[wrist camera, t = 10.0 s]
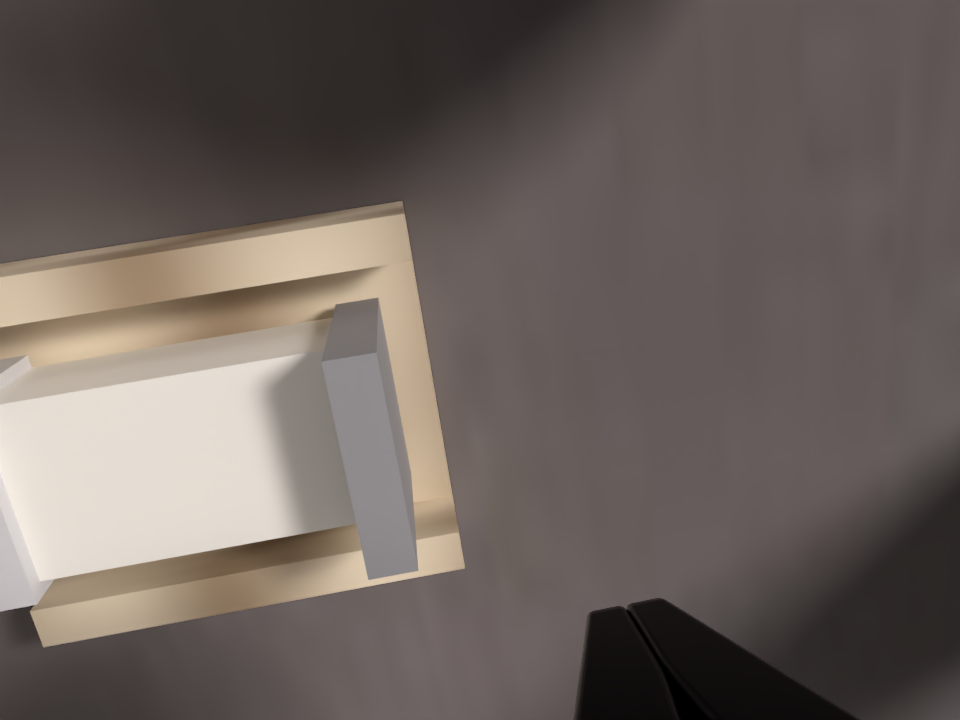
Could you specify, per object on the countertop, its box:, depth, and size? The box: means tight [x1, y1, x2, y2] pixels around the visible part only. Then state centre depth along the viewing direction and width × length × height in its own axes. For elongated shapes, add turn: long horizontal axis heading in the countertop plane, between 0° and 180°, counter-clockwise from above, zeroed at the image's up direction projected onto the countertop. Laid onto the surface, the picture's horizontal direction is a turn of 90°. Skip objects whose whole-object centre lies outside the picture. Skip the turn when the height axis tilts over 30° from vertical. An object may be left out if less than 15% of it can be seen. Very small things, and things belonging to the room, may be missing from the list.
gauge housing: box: [0, 201, 465, 647], centre depth 19 cm, size 10×9×2 cm
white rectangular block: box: [0, 298, 418, 611], centre depth 17 cm, size 9×5×4 cm, turn 98°
